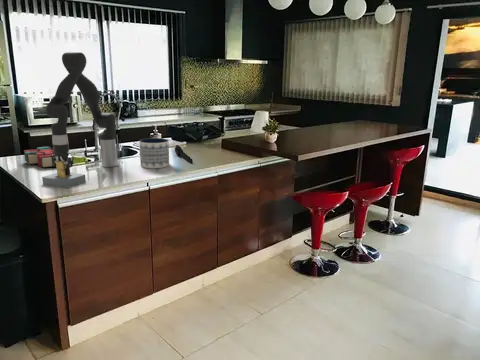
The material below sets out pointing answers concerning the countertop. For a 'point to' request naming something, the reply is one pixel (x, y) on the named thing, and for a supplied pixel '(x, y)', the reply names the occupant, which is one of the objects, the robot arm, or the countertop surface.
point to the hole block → (64, 180)
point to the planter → (154, 152)
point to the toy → (40, 156)
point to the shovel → (182, 154)
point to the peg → (61, 169)
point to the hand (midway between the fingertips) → (63, 174)
